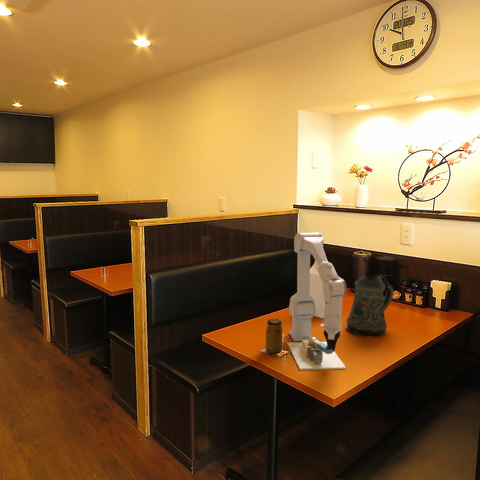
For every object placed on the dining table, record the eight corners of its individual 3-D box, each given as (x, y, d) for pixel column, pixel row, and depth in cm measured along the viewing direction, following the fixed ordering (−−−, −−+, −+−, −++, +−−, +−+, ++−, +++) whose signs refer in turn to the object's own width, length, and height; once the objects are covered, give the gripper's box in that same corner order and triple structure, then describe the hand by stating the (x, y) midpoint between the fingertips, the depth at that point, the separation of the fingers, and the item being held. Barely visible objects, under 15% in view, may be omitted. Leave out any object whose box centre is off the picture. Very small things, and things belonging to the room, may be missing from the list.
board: (287, 343, 161) (287, 342, 161) (327, 343, 162) (327, 341, 162) (299, 370, 139) (299, 368, 139) (345, 368, 141) (345, 367, 141)
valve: (298, 344, 159) (299, 333, 158) (314, 344, 159) (314, 332, 159) (309, 364, 142) (310, 351, 141) (326, 364, 143) (327, 351, 142)
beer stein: (339, 330, 176) (342, 273, 173) (360, 319, 190) (363, 266, 187) (375, 341, 165) (380, 280, 161) (395, 328, 179) (399, 272, 176)
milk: (302, 311, 200) (304, 259, 196) (316, 307, 208) (318, 256, 204) (322, 318, 191) (324, 263, 187) (336, 313, 199) (339, 260, 195)
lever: (306, 340, 151) (306, 337, 151) (314, 339, 152) (314, 335, 152) (325, 354, 139) (325, 350, 139) (333, 353, 140) (333, 349, 140)
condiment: (272, 345, 159) (273, 316, 157) (290, 352, 153) (291, 321, 152) (260, 351, 154) (260, 320, 152) (278, 358, 148) (279, 326, 146)
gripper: (322, 306, 149) (320, 341, 151) (319, 319, 135) (317, 358, 137) (342, 308, 147) (340, 343, 149) (341, 322, 133) (339, 361, 136)
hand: (331, 351), depth 143 cm, fingers closed, pressing on lever
